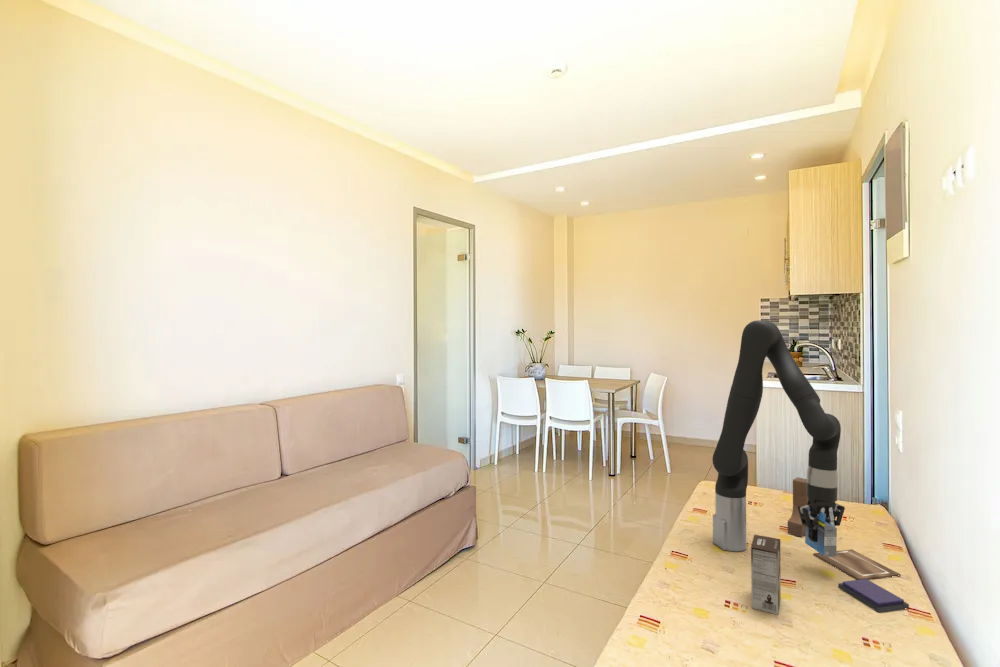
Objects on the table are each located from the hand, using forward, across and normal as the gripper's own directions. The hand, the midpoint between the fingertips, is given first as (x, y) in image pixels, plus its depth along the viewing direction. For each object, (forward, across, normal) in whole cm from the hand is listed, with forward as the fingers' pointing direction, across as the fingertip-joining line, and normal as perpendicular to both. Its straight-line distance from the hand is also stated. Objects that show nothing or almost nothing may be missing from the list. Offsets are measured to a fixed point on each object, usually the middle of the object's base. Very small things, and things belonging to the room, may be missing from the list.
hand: (820, 540), depth 143 cm
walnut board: (+9, -14, -2) cm, 17 cm away
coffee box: (+10, +26, +12) cm, 31 cm away
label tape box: (+3, 0, 0) cm, 3 cm away
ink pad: (+9, -3, +14) cm, 17 cm away
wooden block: (+10, -15, -26) cm, 31 cm away
